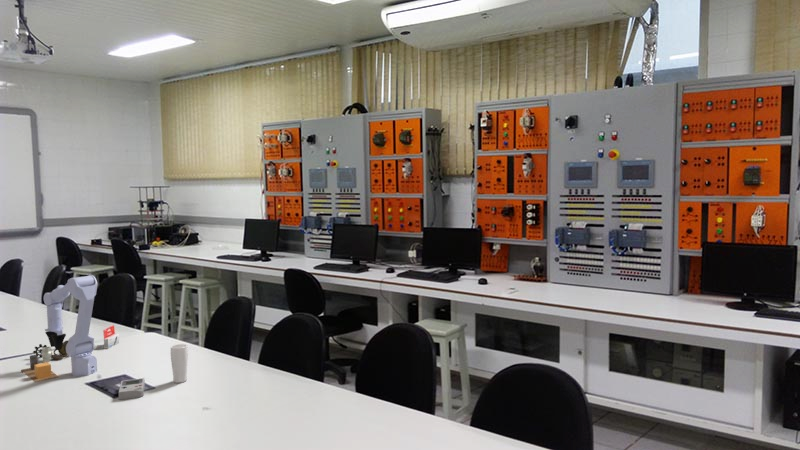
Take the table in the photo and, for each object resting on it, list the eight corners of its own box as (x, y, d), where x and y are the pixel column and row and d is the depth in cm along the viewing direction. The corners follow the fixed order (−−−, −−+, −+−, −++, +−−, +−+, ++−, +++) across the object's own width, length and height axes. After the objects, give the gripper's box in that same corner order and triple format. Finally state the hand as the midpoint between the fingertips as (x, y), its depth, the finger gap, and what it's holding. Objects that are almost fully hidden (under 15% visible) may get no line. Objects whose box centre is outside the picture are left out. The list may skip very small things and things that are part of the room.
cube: (51, 376, 250) (50, 364, 250) (38, 378, 247) (37, 367, 247) (48, 373, 254) (47, 362, 254) (34, 376, 250) (34, 364, 250)
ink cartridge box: (119, 343, 308) (118, 324, 307) (108, 349, 297) (107, 330, 296) (114, 343, 308) (113, 325, 307) (103, 349, 297) (102, 330, 296)
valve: (56, 360, 277) (48, 355, 286) (55, 347, 277) (47, 342, 285) (40, 363, 273) (33, 358, 281) (40, 349, 272) (32, 345, 280)
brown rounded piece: (83, 343, 287) (69, 337, 291) (59, 347, 276) (45, 341, 279) (80, 357, 288) (66, 351, 292) (56, 362, 276) (42, 355, 280)
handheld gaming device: (118, 401, 224) (118, 391, 224) (121, 389, 238) (121, 380, 238) (143, 398, 228) (143, 388, 227) (144, 386, 241) (144, 377, 241)
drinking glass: (191, 380, 246) (190, 345, 245) (176, 385, 241) (175, 349, 240) (184, 377, 251) (182, 343, 250) (168, 381, 246) (167, 346, 245)
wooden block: (59, 379, 249) (58, 363, 249) (35, 384, 243) (34, 368, 242) (43, 367, 266) (43, 352, 266) (20, 371, 260) (20, 356, 259)
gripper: (40, 317, 266) (41, 346, 267) (49, 322, 255) (50, 353, 256) (57, 314, 271) (59, 343, 272) (67, 319, 260) (68, 349, 261)
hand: (56, 348), depth 264 cm, fingers open, 7 cm apart
